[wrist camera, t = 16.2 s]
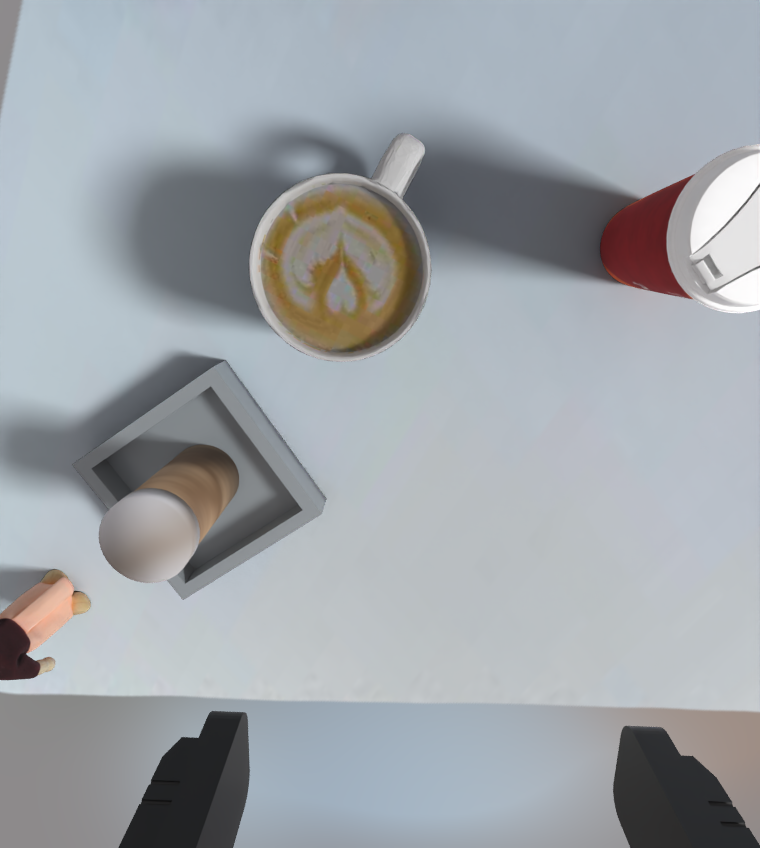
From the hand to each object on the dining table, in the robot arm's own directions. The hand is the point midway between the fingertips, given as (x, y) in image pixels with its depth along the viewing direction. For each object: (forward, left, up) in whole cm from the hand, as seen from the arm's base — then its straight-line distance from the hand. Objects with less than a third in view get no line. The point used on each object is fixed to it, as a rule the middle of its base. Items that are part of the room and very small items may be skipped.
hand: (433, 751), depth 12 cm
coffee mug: (-11, +4, -32) cm, 34 cm away
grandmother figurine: (-3, -32, -32) cm, 46 cm away
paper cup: (-1, +20, -32) cm, 38 cm away
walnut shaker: (-4, -15, -31) cm, 35 cm away
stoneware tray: (-4, -15, -32) cm, 36 cm away
